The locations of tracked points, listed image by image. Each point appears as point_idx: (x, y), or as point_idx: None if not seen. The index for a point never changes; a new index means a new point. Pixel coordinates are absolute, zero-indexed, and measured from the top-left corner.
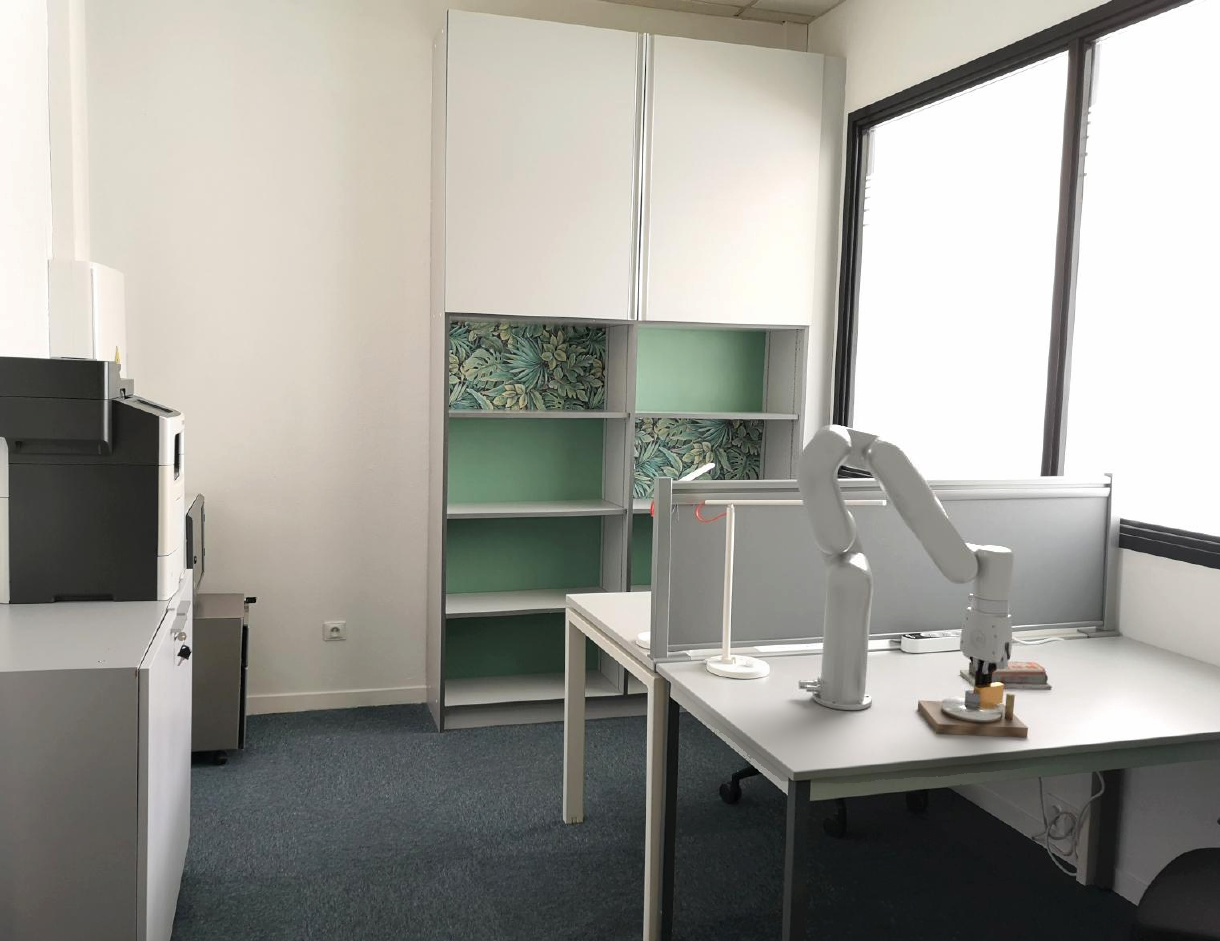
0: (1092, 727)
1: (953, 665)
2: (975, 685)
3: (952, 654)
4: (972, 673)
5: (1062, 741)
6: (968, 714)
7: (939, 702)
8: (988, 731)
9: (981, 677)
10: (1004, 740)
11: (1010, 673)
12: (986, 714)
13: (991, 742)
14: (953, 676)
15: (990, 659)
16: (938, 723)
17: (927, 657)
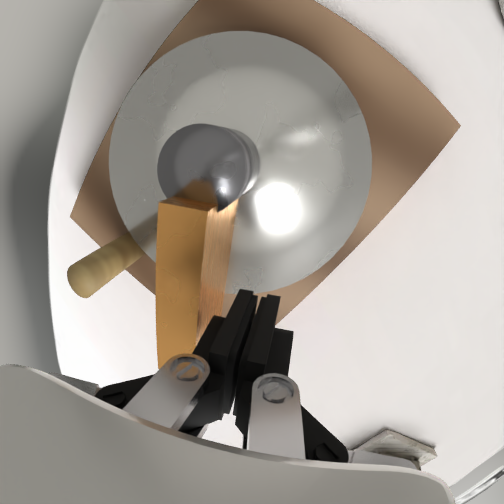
0: (100, 377)
1: (450, 461)
2: (273, 305)
3: (455, 478)
4: (410, 460)
5: (55, 258)
6: (171, 62)
7: (400, 173)
8: None
9: (219, 334)
10: (99, 126)
11: None
12: (133, 134)
13: (109, 78)
14: (444, 435)
15: (19, 382)
16: None
17: (491, 450)
